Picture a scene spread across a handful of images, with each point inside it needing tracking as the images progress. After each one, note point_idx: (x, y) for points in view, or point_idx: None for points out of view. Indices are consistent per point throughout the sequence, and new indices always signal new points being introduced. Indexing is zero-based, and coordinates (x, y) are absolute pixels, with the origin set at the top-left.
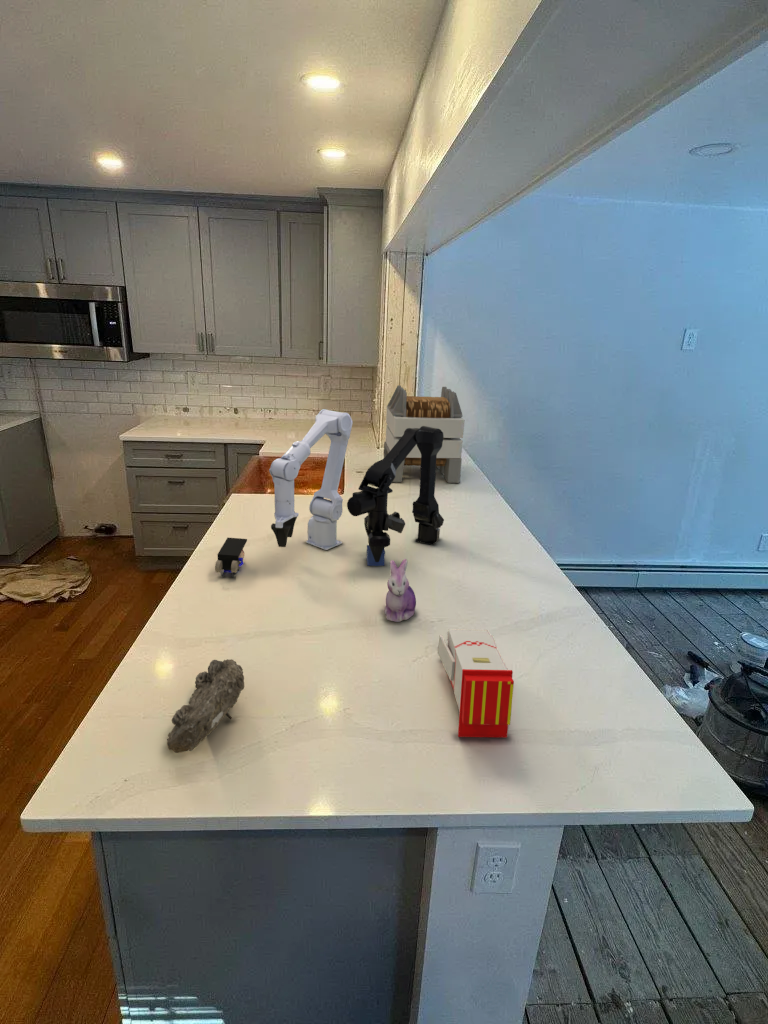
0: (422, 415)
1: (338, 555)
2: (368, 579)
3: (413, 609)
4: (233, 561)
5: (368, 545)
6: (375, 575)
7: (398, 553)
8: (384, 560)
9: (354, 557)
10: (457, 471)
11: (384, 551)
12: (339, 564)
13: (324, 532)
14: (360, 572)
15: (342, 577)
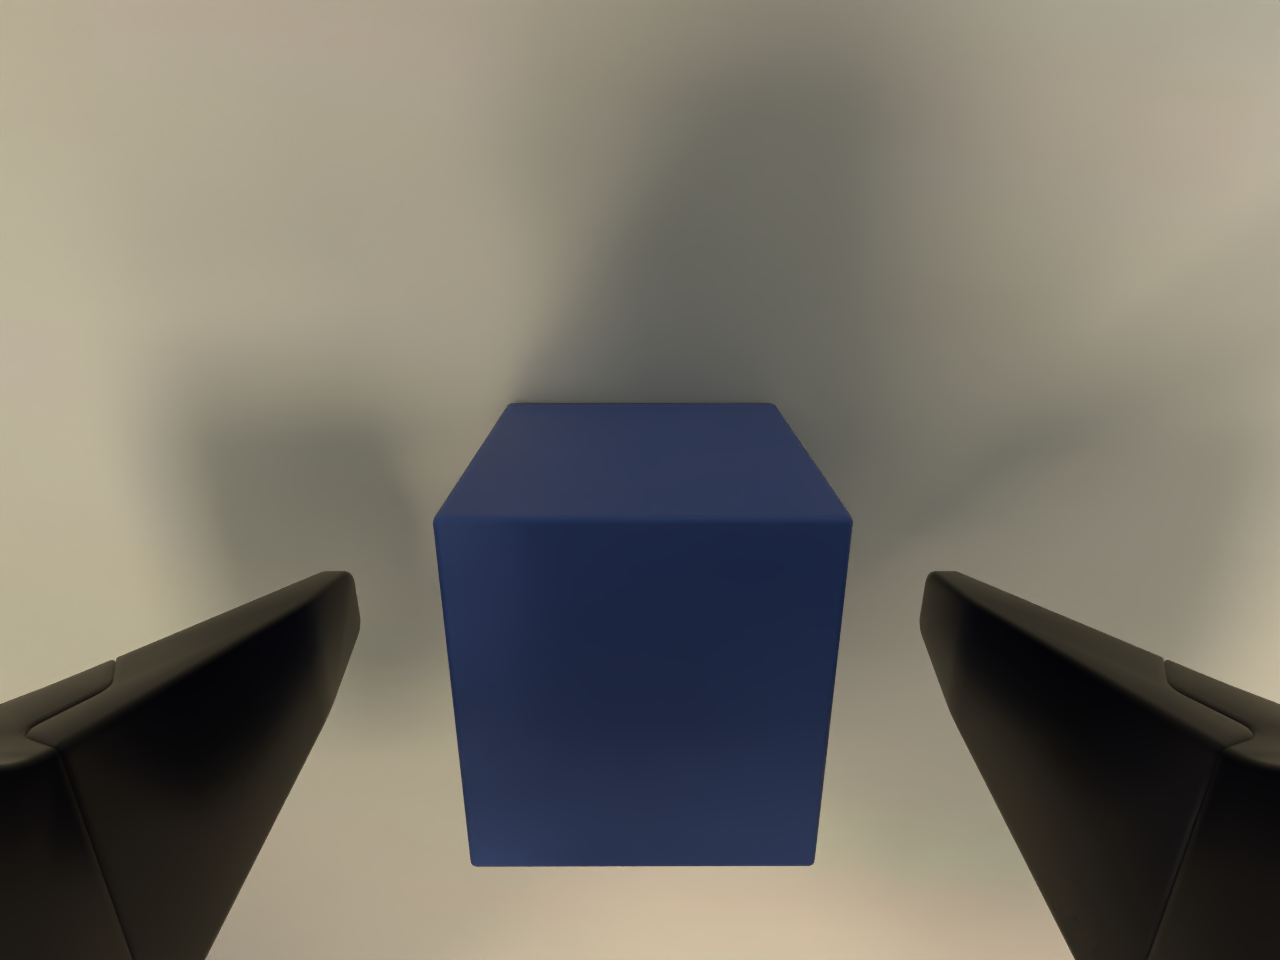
0: None
1: (406, 956)
2: (1207, 675)
3: None
4: None
5: (496, 842)
6: (1106, 573)
7: (172, 22)
8: (788, 431)
9: (455, 795)
10: None
11: (852, 524)
12: (683, 955)
13: None
14: (960, 754)
15: (1056, 939)
